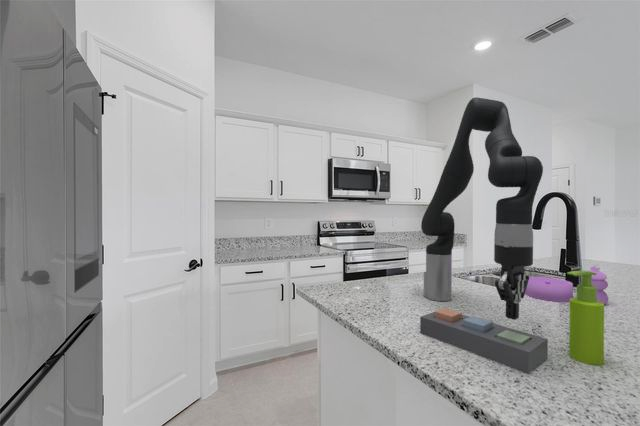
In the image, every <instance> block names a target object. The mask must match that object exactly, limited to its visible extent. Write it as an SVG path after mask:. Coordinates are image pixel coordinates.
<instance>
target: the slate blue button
mask: <svg viewBox="0 0 640 426" xmlns="http://www.w3.org/2000/svg"><path fill="white" fill-rule="evenodd" d="M493 323H494V321H492V320H489V319H485V318H481V317H478V316H475V315H472V316H469V318H467V319H464V320H463V327H466V328H469V329H473V330H476V331H479V332H482V333H486V332H488V331H490V330H492V329H493Z"/></svg>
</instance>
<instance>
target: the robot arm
mask: <svg viewBox="0 0 640 426" xmlns="http://www.w3.org/2000/svg"><path fill="white" fill-rule="evenodd" d="M474 130H475V131H480V132H487V133H488V135H487V136H486V138H485V141H484V148H485V150H486V154H487V156H488V158H489V165H488V171H487V179H488V182H489V183H490V184H491V185H492V186H494V187H496V188H519V190H518V191H517V192H518V193H517V194H516V195H513V196H509V197H503V198H500V199H498V200H497V201H496V204H495V205H496V206H495V227H494V236H493V237H494V239H493V241H494V242H493V243H494V247H493V248H494V249H493V250H494V251H493V253H494V254H493V261H494V262H495V263H496V264H498V265H499V264H500V266H501V267H500V268H501V269H500V273H499V278H500V280H498V279H497V280H495V281H494V284H495V285H494V286H495V288H496V290H497V293H498V295H499V298H500V300H501V301H504V302H505V317H506V319H509V320H510V319H511V320H514V321H515V320H517V319H519V318H520V303H521V301H522V299H524V298H525V296H526V295H525V291H526V288H527V284H528V281H529V277H530V276H529V275H527V274H526V273H525V272H526V271H525V267H531V266H533V264H534V229H533V205H534V202H535V197H536V194H537V191H538V189H539V188H538V187H539V185H540V183H541V179H542V177H543V173H544V166H543V164H542V161H541V160H540V159H539V158H538V157H536V156H534V155H523V150H522V147H521V145H520V143H519V141H518V140H517V139H516V136H515V135H514V132H513V131H512V123H511V118H510V113H509V109H508V107H507V105H506V103H504V102H503V101H500V100H497V99H495V100H494V99H488V98H485V97H483V98H482V97H472V98H471V99H469V101H468V102H467V104H466V107H465V108H464V111H463V115H462V117H461V121H460V124H459V127H458V130H457V133H456V137H455V140H454V143H453V145H452V149H451V151H450V153H449V155H448V158H447V161H446V163H445V165H444V167H443V171H442V173H441V176H440V178H439V182H438V184H437V187H436V189H435V191H434V194H433V196H432V199H431V200H430V203H429V204H428V206H427V208H426V210H425V212H424V214H423V216H422V219H421V224H420V226H421V231H422V233H423V234H424V235H425V236H428V237H437V239H435V241H434V242H432V243H430V244H428V245H427V246H426V247H425V271H424V272H423V297H426V298H427V299H429V300H432V301H437V302H448V301H451V300H452V291H453V290H452V288H453V287H452V286H453V285H452V283H453V282H452V279H453V277H452V276H453V275H452V274H453V273H452V271H453V267H452V266H453V265H452V263H453V262H452V260H453V258H452V255H453V253H452V252H453V248H454V242H455V219H454V216H453V215H452V214H451V213H450V212H448V211H446V212H445V209H446V208H447V207H448V206H449V205H450V204H451V203H452V202H453V201H454V200H456V199H457V198H458V197H460V195H462V194H463V193H464V192H465V190H467V187H468V185H469V183H470V181H471V180H472V177H473V174H474V169H475V168H474V167H475V166H474V162H473V161H474V160H473V158H472V155H471V154H472V153H471V150H470V137H471V133H472V131H474Z"/></svg>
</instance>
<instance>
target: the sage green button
mask: <svg viewBox="0 0 640 426" xmlns="http://www.w3.org/2000/svg"><path fill="white" fill-rule="evenodd" d="M497 337H498V338H501V339H504V340H507V341H511V342H514V343H517V344H520V345H524V344H525V343H527V342H528V341H530V337H529V336H525V335H522V334H518V333H515V332H511V331H508V330H505V331H503V332H501V333H500V334H498V335H497Z"/></svg>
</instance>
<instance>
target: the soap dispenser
mask: <svg viewBox="0 0 640 426" xmlns="http://www.w3.org/2000/svg"><path fill="white" fill-rule="evenodd" d="M590 271H591V270H572V271H568V272H566V274H567V275H569V276H573V277H579V276H581V280H582V283H580V284H577V285H576V297H573V298H571V299H570V302H569V338H568V341H569V343H568V344H569V345H568V346H569V347H568V349H569V350H568V351H569V352H568V353H569V357H570V358H571V357H572V360H575V361H578V362H580V363H582V364H586V365H592V366H603V365H604V364H605V362H604V359H605V304H603V303H601V302H599V301H597V288H596V287H595V286H593V285H592V275H596V273H594V272H590Z"/></svg>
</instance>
